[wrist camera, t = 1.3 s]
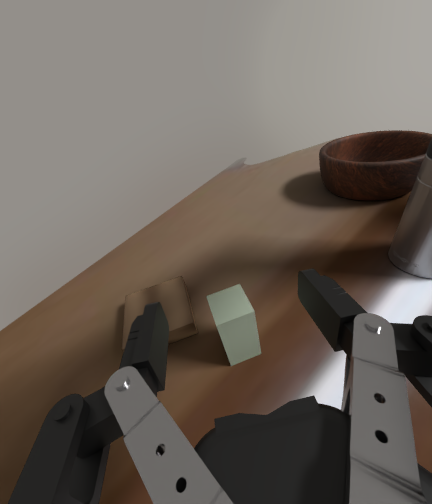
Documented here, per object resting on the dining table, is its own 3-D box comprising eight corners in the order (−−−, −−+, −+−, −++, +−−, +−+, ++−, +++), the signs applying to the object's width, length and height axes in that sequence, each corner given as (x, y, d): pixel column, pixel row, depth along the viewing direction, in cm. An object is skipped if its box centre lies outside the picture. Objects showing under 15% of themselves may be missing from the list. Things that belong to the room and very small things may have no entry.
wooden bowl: (386, 219, 46) (401, 171, 40) (297, 189, 65) (298, 154, 59) (449, 178, 53) (471, 132, 47) (353, 162, 72) (359, 128, 66)
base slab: (186, 286, 43) (181, 275, 41) (198, 332, 34) (193, 322, 33) (132, 305, 42) (125, 295, 40) (130, 359, 33) (121, 349, 31)
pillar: (248, 326, 33) (239, 283, 27) (261, 353, 30) (254, 311, 24) (221, 337, 33) (206, 296, 27) (231, 366, 29) (216, 325, 23)
